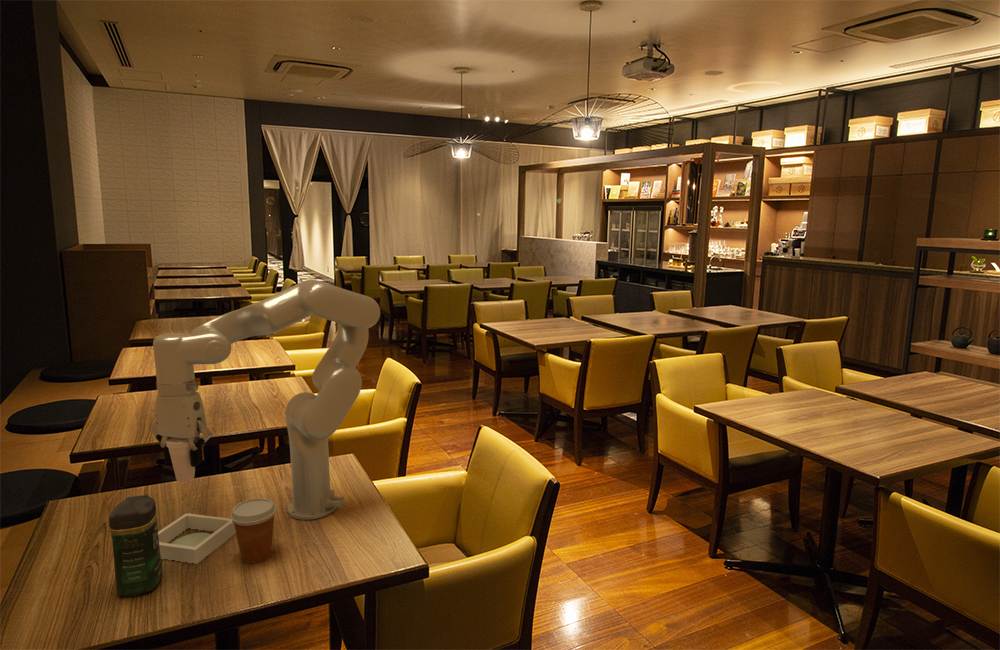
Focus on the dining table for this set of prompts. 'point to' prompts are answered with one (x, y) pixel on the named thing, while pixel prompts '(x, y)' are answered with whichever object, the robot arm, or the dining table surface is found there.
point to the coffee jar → (135, 545)
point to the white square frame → (190, 554)
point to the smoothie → (181, 458)
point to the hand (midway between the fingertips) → (184, 462)
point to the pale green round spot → (191, 539)
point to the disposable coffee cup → (254, 528)
